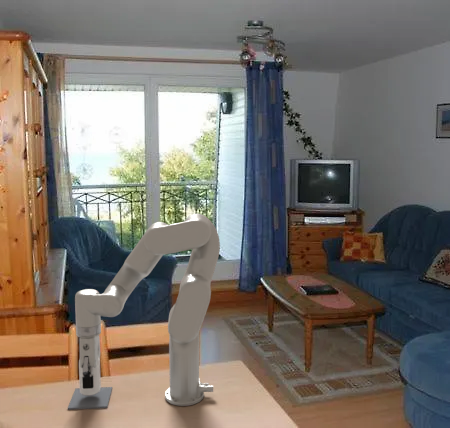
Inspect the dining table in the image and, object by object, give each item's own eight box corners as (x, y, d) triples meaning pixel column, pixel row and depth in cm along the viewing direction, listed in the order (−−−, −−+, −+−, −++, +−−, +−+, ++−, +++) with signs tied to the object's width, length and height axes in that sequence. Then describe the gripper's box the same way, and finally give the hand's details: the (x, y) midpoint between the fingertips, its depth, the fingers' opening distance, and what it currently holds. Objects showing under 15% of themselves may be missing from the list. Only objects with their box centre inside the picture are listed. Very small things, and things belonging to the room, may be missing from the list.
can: (95, 397, 152) (94, 361, 150) (76, 395, 154) (74, 359, 152) (104, 387, 158) (103, 352, 157) (85, 385, 160) (84, 350, 158)
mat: (112, 388, 163) (112, 386, 163) (107, 407, 151) (107, 406, 151) (75, 390, 162) (75, 388, 162) (67, 409, 150) (67, 407, 150)
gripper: (96, 339, 145) (97, 395, 147) (104, 318, 162) (106, 369, 164) (70, 340, 144) (72, 396, 147) (81, 319, 161) (83, 370, 164)
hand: (90, 381), depth 156 cm, fingers closed on can, 6 cm apart
